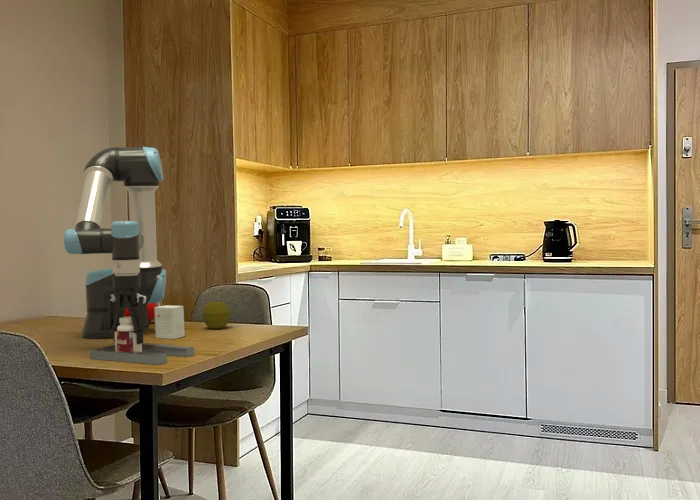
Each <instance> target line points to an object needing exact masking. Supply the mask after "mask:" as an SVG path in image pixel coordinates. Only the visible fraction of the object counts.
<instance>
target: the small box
mask: <svg viewBox="0 0 700 500" xmlns="http://www.w3.org/2000/svg"><path fill="white" fill-rule="evenodd" d="M184 311H185V310H184V305H170V304H169V305H159V306H157V307H155V317H154V324H155V325H154V327H155V338H156V339H167V340H169V339H170V340H175V339H180V338H182V337H183V338H184V337H185V314H184V313H185V312H184Z"/></svg>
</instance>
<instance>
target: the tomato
mask: <svg viewBox="0 0 700 500" xmlns="http://www.w3.org/2000/svg"><path fill="white" fill-rule="evenodd" d="M155 307H158V305H157V303H150V304H148V303H147V310H148V321H149V322H151V321H153V320H155ZM130 316H131V315H130V311H129V310H128V309H126V310H125V314H124V317H130Z"/></svg>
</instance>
